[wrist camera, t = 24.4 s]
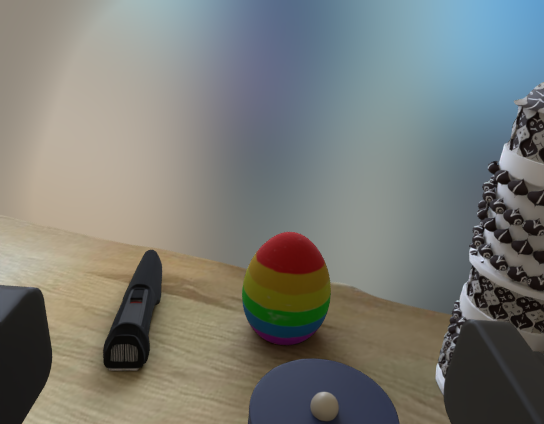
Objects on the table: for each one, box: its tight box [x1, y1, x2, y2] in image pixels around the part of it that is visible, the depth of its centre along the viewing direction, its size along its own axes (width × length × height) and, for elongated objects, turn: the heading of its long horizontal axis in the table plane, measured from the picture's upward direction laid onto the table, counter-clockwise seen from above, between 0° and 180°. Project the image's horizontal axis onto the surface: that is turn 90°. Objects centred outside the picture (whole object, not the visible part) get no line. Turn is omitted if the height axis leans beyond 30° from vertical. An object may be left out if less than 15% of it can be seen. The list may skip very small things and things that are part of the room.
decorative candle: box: [436, 82, 544, 395], centre depth 34 cm, size 9×9×25 cm
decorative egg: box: [242, 232, 331, 345], centre depth 42 cm, size 8×8×10 cm
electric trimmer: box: [103, 250, 162, 371], centre depth 44 cm, size 4×16×3 cm, turn 4°
